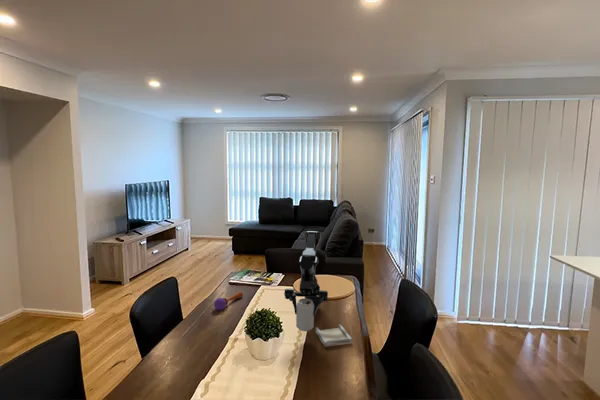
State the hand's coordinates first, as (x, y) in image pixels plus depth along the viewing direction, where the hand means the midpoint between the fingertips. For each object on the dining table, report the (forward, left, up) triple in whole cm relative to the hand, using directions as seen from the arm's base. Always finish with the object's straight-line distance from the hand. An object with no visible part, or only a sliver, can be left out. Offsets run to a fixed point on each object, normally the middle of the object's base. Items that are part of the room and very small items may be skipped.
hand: (304, 314), depth 136 cm
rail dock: (+4, +12, -12) cm, 17 cm away
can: (-1, +1, -7) cm, 7 cm away
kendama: (-49, -17, -12) cm, 54 cm away
